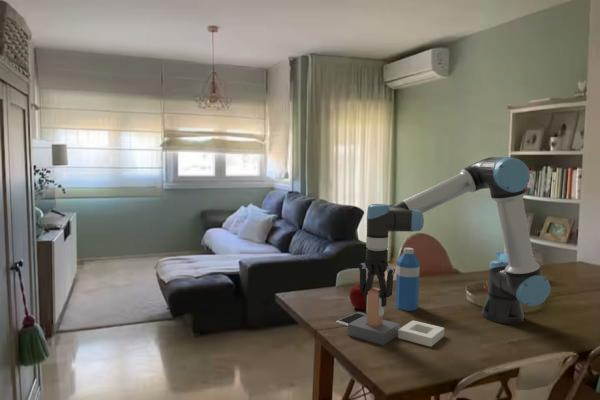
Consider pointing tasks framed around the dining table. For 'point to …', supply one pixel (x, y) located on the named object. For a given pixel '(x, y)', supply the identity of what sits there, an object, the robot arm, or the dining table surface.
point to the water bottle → (407, 281)
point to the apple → (358, 298)
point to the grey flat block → (373, 330)
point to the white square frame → (421, 333)
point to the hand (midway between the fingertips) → (375, 313)
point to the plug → (374, 308)
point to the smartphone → (350, 318)
